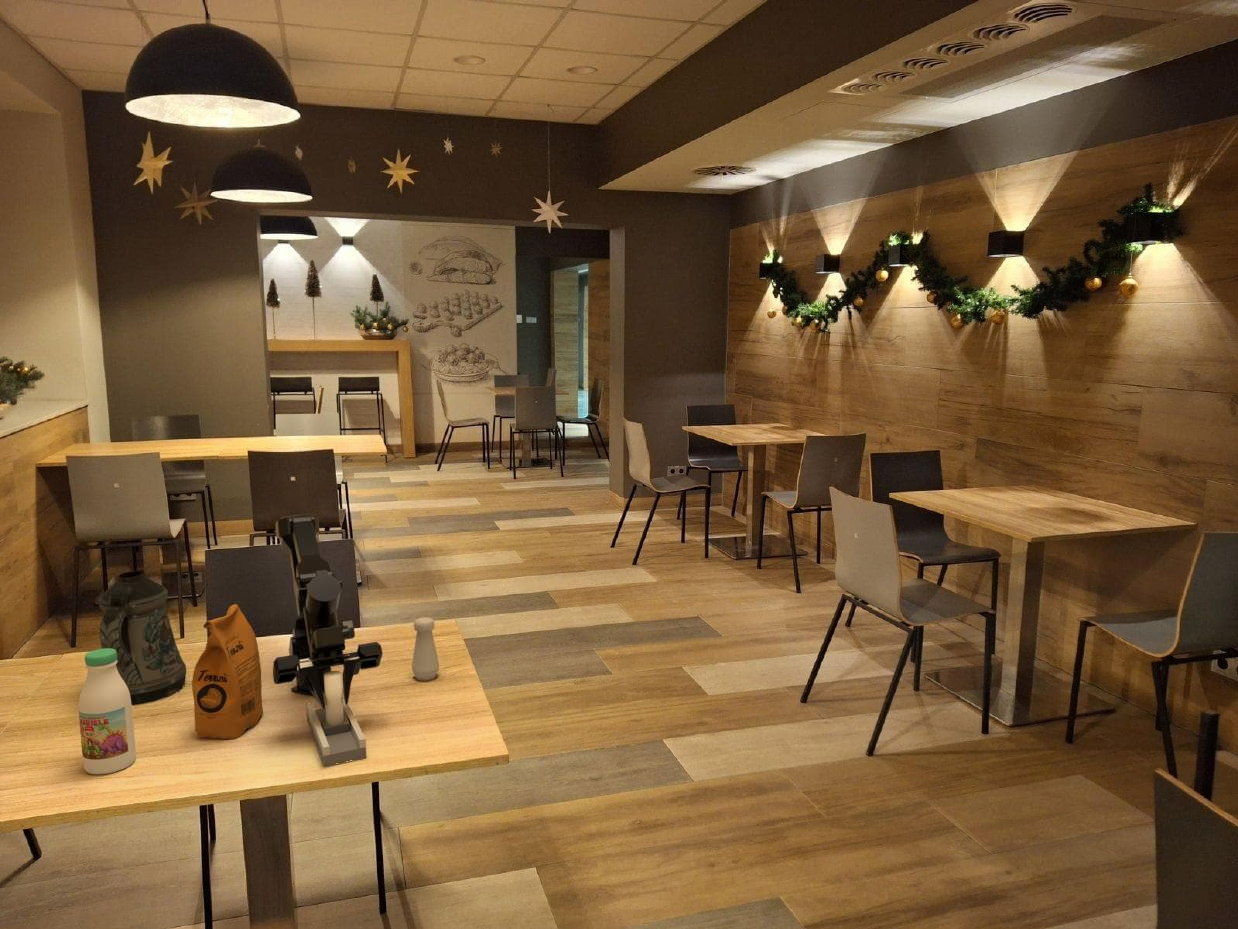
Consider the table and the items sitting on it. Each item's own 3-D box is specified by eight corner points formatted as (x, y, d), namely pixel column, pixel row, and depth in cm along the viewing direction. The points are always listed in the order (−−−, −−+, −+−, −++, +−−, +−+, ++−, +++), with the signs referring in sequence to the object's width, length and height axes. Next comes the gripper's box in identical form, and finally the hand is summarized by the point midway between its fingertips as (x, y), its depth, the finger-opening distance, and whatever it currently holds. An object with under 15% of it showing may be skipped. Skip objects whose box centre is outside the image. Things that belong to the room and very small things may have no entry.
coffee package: (185, 740, 155) (176, 623, 152) (222, 711, 167) (215, 602, 164) (238, 742, 154) (230, 624, 151) (271, 713, 166) (265, 603, 163)
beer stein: (182, 669, 189) (174, 559, 185) (194, 699, 172) (185, 579, 169) (94, 685, 180) (84, 570, 176) (98, 719, 164) (87, 592, 160)
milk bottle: (98, 755, 149) (88, 644, 146) (144, 753, 150) (135, 643, 147) (74, 777, 142) (63, 661, 139) (123, 775, 142) (113, 659, 140)
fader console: (307, 721, 162) (306, 703, 162) (345, 714, 166) (344, 696, 165) (324, 767, 145) (323, 746, 144) (366, 758, 148) (365, 737, 148)
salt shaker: (432, 683, 181) (430, 624, 179) (407, 681, 182) (405, 622, 180) (443, 673, 186) (442, 615, 185) (419, 671, 188) (417, 614, 186)
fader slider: (320, 727, 155) (318, 672, 154) (345, 722, 157) (343, 668, 156) (324, 736, 152) (321, 680, 150) (350, 731, 154) (347, 675, 152)
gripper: (270, 614, 151) (281, 696, 143) (378, 600, 159) (394, 677, 151) (268, 643, 159) (278, 723, 151) (371, 628, 167) (386, 703, 159)
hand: (335, 705), depth 153 cm, fingers open, 4 cm apart
